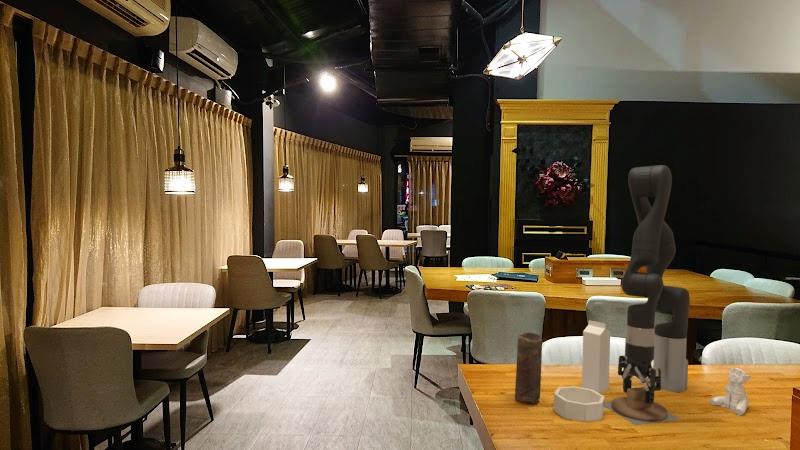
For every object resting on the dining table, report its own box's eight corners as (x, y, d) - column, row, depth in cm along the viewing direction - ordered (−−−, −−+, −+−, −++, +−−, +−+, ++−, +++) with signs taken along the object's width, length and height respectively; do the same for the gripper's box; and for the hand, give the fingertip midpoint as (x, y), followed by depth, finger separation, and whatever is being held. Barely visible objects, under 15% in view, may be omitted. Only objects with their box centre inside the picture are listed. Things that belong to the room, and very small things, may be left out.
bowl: (584, 401, 147) (584, 385, 147) (613, 419, 135) (613, 401, 134) (546, 405, 144) (546, 388, 144) (572, 424, 131) (573, 406, 131)
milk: (598, 394, 153) (600, 325, 152) (581, 388, 158) (583, 321, 157) (609, 390, 156) (611, 322, 155) (591, 384, 161) (593, 318, 160)
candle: (541, 397, 149) (543, 333, 149) (540, 407, 143) (541, 339, 142) (516, 394, 152) (517, 331, 151) (513, 403, 145) (515, 337, 144)
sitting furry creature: (708, 404, 146) (709, 364, 146) (726, 399, 150) (728, 361, 149) (740, 416, 138) (742, 374, 137) (759, 411, 141) (761, 371, 141)
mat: (641, 399, 149) (641, 398, 149) (681, 420, 135) (681, 419, 135) (599, 404, 145) (599, 402, 145) (635, 426, 131) (635, 424, 131)
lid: (641, 398, 149) (641, 378, 148) (679, 418, 135) (680, 396, 135) (600, 403, 145) (601, 382, 145) (636, 424, 131) (636, 401, 131)
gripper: (670, 348, 133) (667, 406, 134) (633, 335, 147) (631, 388, 147) (647, 349, 131) (645, 408, 132) (611, 336, 145) (609, 389, 145)
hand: (637, 397), depth 140 cm, fingers open, 8 cm apart
